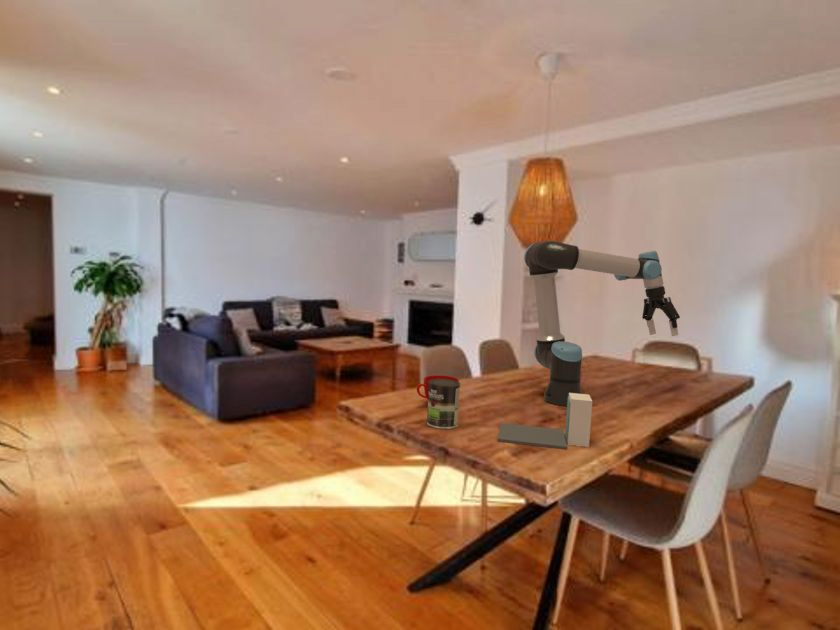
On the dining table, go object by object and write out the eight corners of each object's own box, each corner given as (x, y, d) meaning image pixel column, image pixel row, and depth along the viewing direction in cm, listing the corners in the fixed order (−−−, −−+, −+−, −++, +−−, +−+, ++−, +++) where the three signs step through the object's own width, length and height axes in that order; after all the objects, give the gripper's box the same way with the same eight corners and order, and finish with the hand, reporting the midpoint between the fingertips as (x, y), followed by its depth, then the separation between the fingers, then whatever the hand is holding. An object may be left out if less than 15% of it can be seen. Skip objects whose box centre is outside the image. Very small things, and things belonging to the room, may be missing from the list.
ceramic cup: (407, 403, 182) (408, 377, 181) (444, 399, 191) (445, 374, 190) (425, 413, 171) (427, 385, 170) (464, 407, 180) (465, 381, 179)
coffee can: (443, 431, 152) (445, 387, 151) (420, 423, 159) (422, 381, 158) (464, 425, 159) (466, 383, 158) (441, 417, 167) (443, 377, 165)
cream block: (585, 438, 151) (589, 394, 150) (588, 447, 144) (592, 401, 142) (564, 436, 153) (567, 392, 151) (566, 444, 145) (569, 398, 144)
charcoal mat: (497, 441, 145) (497, 438, 145) (500, 425, 161) (500, 422, 161) (567, 449, 141) (567, 446, 141) (563, 432, 157) (563, 429, 156)
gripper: (683, 283, 198) (692, 334, 199) (642, 286, 222) (651, 331, 223) (667, 287, 196) (677, 338, 198) (628, 290, 221) (637, 335, 222)
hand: (663, 335), depth 211 cm, fingers open, 13 cm apart
